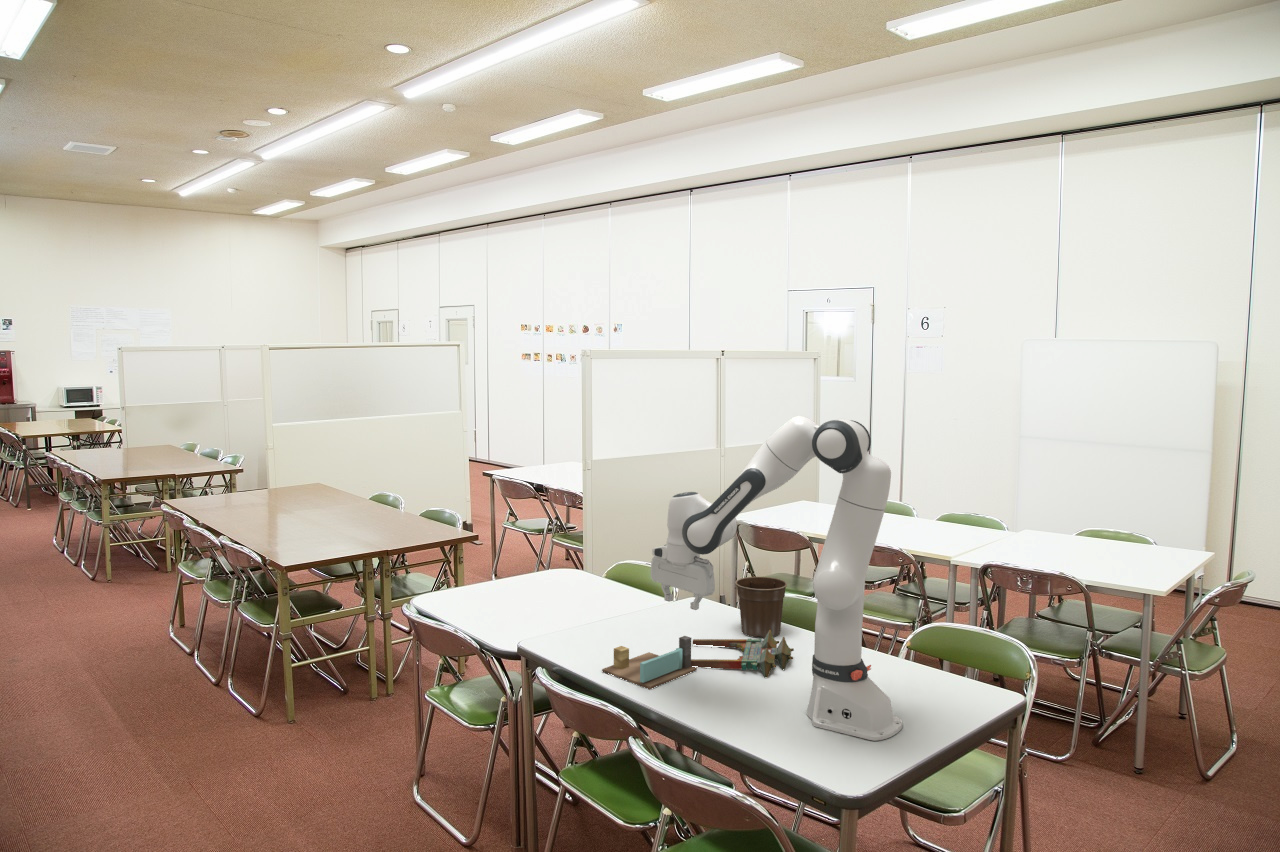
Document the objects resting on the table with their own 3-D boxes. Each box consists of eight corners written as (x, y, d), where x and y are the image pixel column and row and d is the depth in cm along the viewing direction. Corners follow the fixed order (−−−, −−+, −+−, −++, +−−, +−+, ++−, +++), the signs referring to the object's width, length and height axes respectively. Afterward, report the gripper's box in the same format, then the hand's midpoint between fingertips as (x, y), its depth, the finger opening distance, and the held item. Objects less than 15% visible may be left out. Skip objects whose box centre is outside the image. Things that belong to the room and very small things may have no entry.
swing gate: (683, 668, 230) (683, 649, 229) (644, 683, 218) (644, 663, 218) (678, 666, 231) (678, 647, 231) (639, 682, 220) (639, 661, 219)
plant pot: (723, 631, 265) (724, 581, 264) (756, 621, 276) (757, 573, 275) (763, 644, 253) (764, 592, 252) (796, 633, 264) (797, 583, 263)
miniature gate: (694, 629, 256) (793, 629, 250) (695, 647, 256) (794, 647, 250) (681, 660, 230) (791, 660, 224) (682, 679, 230) (792, 680, 224)
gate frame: (696, 670, 231) (697, 638, 230) (649, 689, 217) (650, 655, 216) (649, 654, 243) (649, 624, 242) (602, 671, 229) (602, 639, 229)
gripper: (721, 559, 213) (719, 612, 214) (664, 544, 228) (662, 594, 229) (704, 562, 209) (702, 616, 210) (647, 547, 223) (646, 598, 225)
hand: (681, 604), depth 220 cm, fingers open, 8 cm apart
